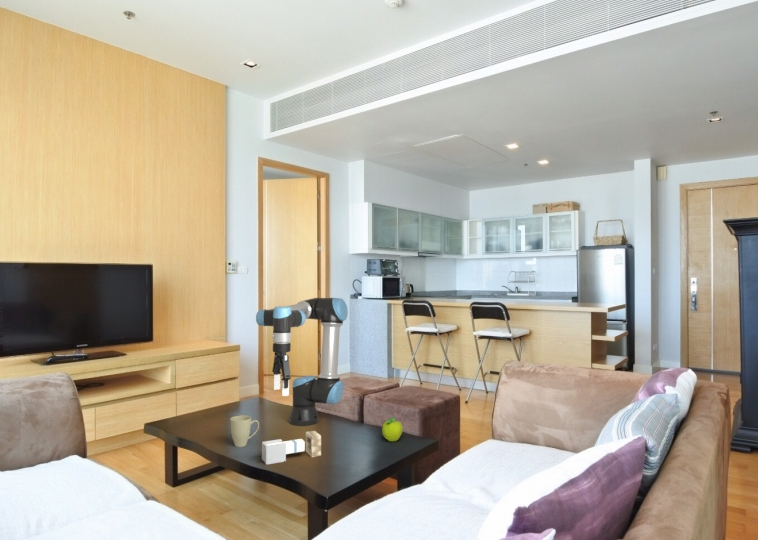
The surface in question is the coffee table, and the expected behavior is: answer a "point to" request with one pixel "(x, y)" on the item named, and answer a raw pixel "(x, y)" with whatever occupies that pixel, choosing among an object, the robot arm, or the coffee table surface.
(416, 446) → the coffee table surface
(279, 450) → the sleeve
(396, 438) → the fruit
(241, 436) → the mug
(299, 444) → the blue-banded white bar
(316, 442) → the beige block
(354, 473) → the coffee table surface
